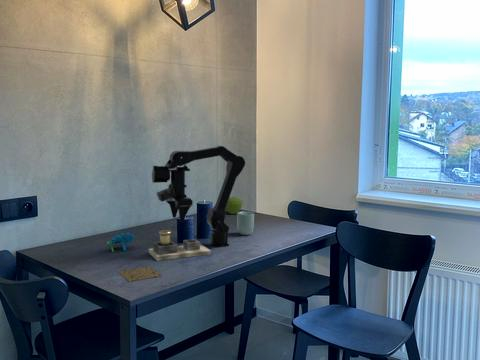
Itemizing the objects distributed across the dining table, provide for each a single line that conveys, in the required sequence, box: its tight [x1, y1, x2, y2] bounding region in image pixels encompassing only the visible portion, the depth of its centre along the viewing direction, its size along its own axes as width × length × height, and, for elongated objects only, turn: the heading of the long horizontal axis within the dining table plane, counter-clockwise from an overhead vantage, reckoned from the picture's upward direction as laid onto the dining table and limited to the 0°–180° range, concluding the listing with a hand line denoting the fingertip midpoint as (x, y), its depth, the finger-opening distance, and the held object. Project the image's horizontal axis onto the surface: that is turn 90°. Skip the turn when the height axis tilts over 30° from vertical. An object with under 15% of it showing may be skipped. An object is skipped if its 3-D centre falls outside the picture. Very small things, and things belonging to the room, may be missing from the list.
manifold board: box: [148, 238, 212, 261], centre depth 192 cm, size 22×12×4 cm, turn 116°
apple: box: [225, 196, 243, 215], centre depth 274 cm, size 11×10×10 cm
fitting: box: [158, 229, 172, 246], centre depth 189 cm, size 5×5×8 cm
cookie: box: [118, 266, 163, 283], centre depth 166 cm, size 12×12×1 cm
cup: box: [236, 211, 255, 236], centre depth 226 cm, size 8×8×10 cm
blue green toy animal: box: [106, 232, 135, 253], centre depth 195 cm, size 11×6×10 cm
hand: (177, 219), depth 198 cm, fingers open, 9 cm apart
